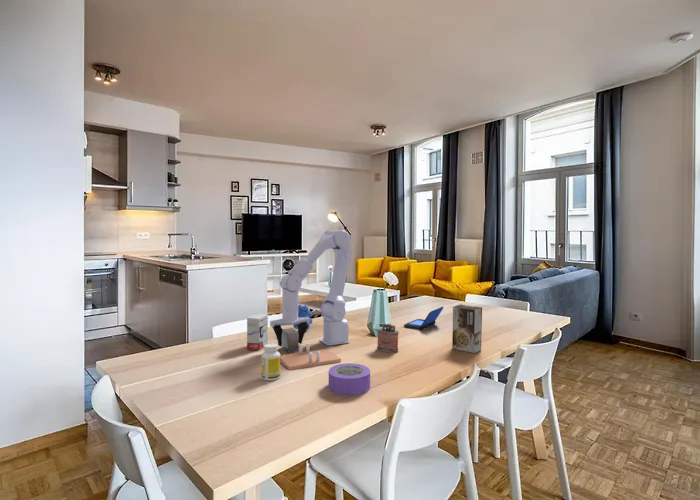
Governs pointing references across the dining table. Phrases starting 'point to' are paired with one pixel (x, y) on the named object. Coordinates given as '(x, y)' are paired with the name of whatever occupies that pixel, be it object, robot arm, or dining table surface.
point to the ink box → (257, 331)
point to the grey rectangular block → (290, 340)
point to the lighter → (387, 338)
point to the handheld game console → (421, 323)
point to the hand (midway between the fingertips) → (290, 344)
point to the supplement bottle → (270, 362)
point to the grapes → (303, 314)
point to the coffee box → (467, 328)
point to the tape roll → (349, 379)
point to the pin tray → (308, 358)
